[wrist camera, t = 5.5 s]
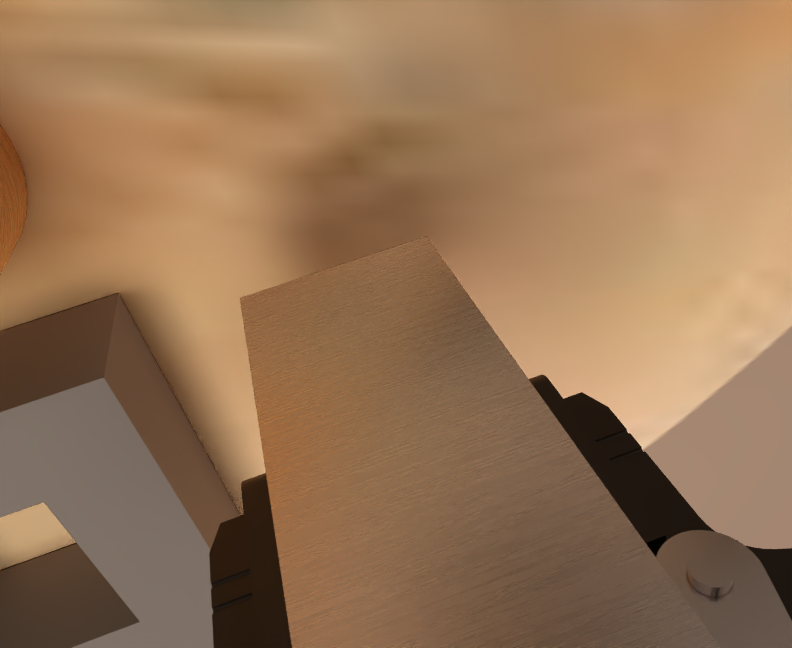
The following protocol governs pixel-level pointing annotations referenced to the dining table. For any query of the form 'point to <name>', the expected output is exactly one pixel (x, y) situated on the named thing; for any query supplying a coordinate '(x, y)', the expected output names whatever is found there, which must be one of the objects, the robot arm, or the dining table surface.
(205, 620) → the socket block
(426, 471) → the square bit
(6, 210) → the round bit
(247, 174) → the dining table surface
